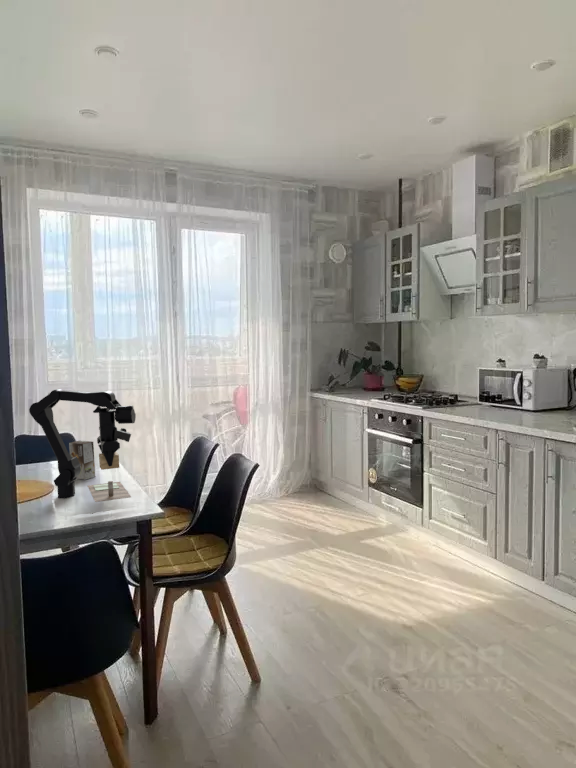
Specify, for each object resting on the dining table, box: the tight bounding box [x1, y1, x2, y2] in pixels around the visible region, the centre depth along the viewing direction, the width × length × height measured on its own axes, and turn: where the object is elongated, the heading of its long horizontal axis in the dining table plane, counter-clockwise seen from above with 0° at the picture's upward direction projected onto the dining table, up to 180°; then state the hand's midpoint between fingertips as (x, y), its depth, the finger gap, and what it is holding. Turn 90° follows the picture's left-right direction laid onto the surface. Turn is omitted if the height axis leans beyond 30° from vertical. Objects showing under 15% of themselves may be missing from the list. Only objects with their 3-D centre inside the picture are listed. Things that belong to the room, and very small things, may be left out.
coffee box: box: [68, 440, 96, 481], centre depth 254 cm, size 9×6×16 cm
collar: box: [98, 451, 120, 470], centre depth 218 cm, size 6×6×5 cm
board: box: [87, 480, 132, 503], centre depth 224 cm, size 28×13×6 cm, turn 25°
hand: (109, 464), depth 218 cm, fingers closed on collar, 6 cm apart
